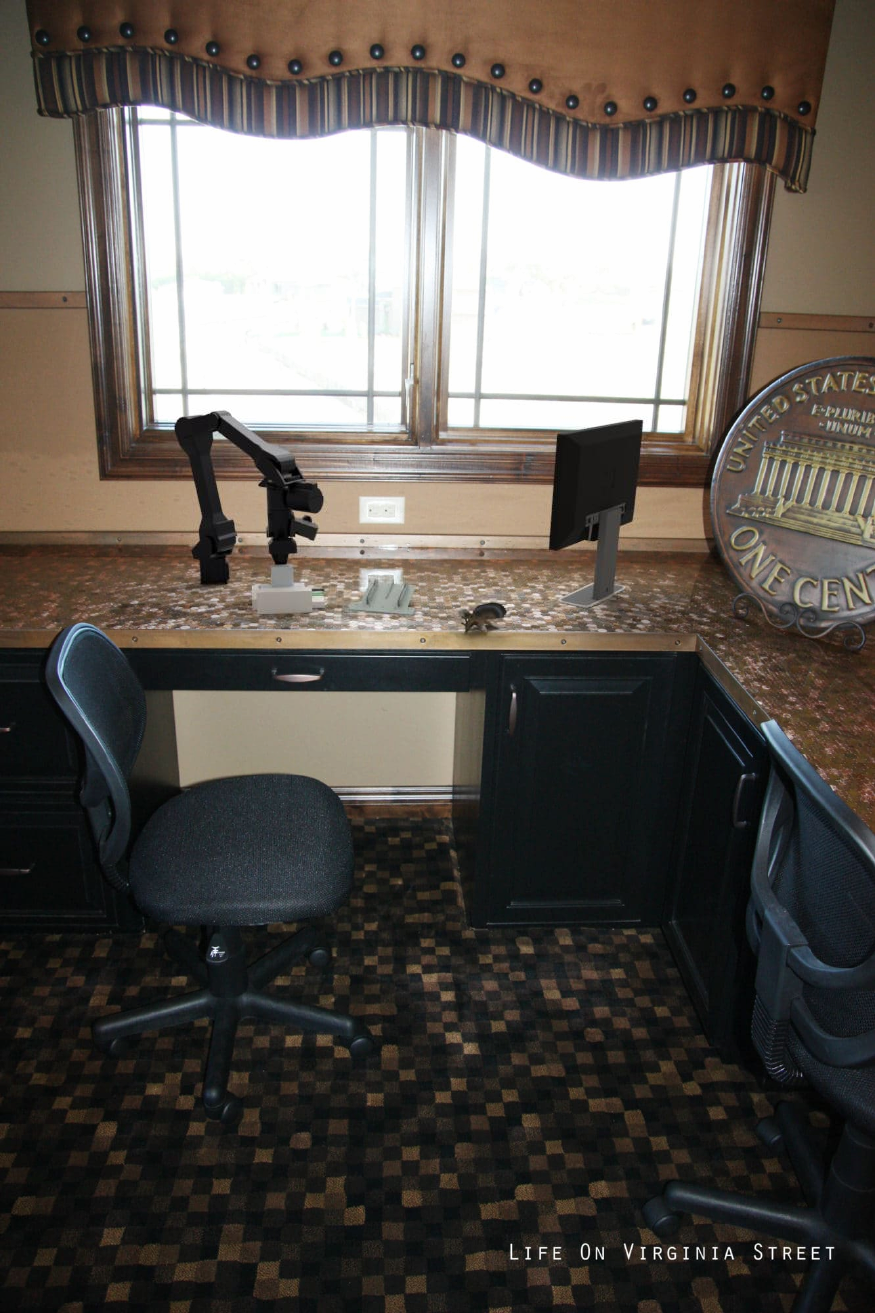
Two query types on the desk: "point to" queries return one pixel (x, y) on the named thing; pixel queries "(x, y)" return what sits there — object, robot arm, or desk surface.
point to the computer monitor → (595, 498)
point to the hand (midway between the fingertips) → (282, 574)
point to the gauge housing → (286, 600)
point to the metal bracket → (386, 599)
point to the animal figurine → (482, 615)
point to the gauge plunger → (284, 578)
